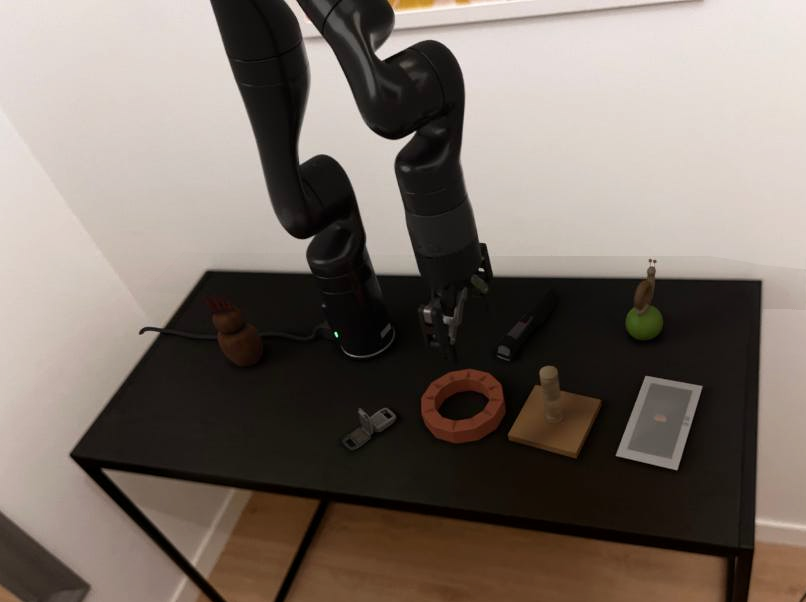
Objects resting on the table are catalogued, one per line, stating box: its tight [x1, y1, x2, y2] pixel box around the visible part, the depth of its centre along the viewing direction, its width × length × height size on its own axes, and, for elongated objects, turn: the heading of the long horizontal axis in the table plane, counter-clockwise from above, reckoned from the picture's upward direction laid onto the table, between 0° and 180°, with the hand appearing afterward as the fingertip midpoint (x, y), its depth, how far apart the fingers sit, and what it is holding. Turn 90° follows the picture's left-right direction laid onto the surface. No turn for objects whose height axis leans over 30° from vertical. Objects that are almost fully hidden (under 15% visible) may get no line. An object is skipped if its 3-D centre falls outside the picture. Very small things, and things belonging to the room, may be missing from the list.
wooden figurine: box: [201, 293, 264, 367], centre depth 118 cm, size 7×6×15 cm
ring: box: [420, 368, 507, 445], centre depth 104 cm, size 12×12×3 cm
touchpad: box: [615, 375, 704, 471], centre depth 95 cm, size 8×15×2 cm, turn 154°
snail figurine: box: [625, 258, 664, 341], centre depth 105 cm, size 5×6×12 cm
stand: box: [507, 365, 602, 459], centre depth 96 cm, size 10×10×10 cm
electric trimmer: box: [494, 287, 558, 362], centre depth 114 cm, size 4×16×3 cm, turn 142°
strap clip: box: [341, 407, 397, 451], centre depth 104 cm, size 8×3×4 cm, turn 128°
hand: (467, 338), depth 90 cm, fingers open, 8 cm apart
